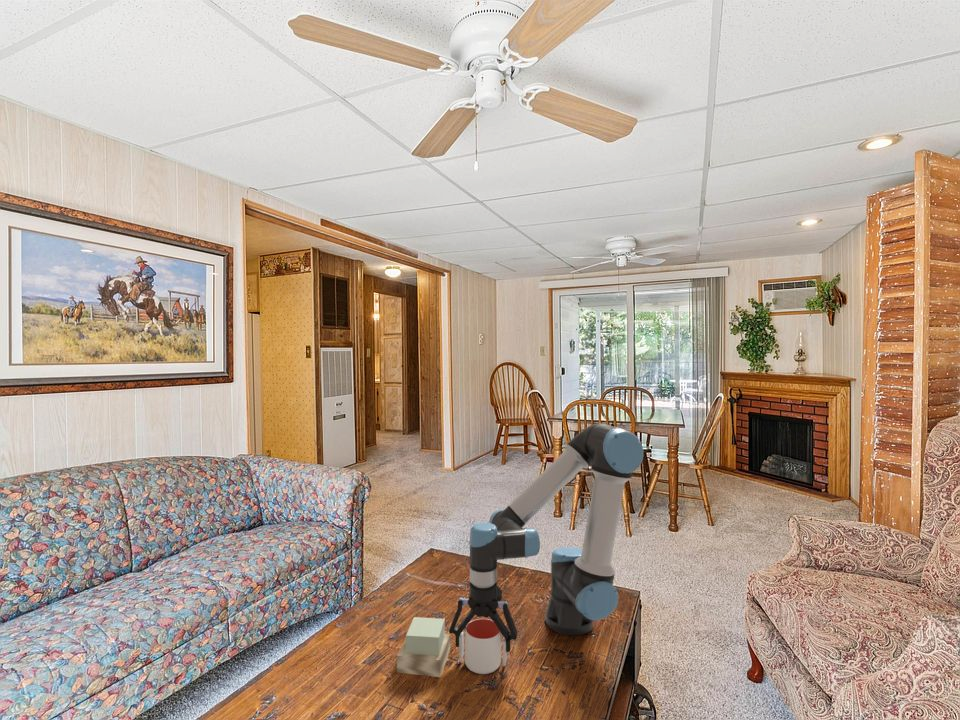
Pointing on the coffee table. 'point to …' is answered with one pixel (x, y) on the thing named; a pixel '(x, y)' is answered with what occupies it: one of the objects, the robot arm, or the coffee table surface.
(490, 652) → the cup
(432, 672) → the tower base
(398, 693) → the coffee table surface
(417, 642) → the tower top
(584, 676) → the coffee table surface
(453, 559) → the coffee table surface
